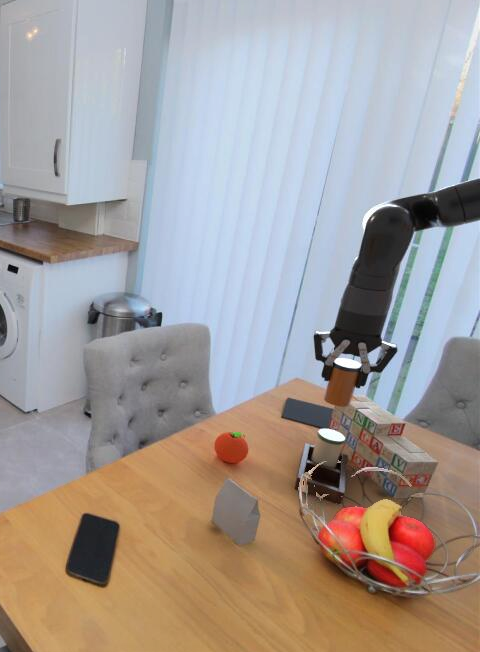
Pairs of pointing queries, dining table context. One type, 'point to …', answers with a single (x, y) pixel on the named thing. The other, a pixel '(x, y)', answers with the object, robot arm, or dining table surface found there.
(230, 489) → the grey paper bag
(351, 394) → the amber jar
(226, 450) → the red tomato
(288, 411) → the mat
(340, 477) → the rack
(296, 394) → the dining table surface
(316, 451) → the beige jar
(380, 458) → the stack of blocks
